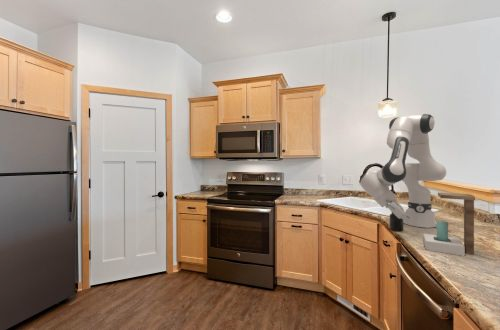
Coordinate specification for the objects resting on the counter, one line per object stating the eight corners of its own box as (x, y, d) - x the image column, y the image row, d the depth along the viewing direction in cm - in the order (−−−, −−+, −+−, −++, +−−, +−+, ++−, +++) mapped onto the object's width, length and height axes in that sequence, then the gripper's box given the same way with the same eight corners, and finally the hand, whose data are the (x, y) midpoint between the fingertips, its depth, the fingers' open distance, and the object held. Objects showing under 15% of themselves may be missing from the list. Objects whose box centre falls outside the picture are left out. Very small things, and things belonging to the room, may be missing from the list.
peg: (436, 246, 108) (436, 220, 108) (447, 247, 106) (447, 221, 106) (437, 248, 105) (437, 222, 105) (448, 250, 103) (448, 223, 103)
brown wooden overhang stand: (437, 244, 110) (437, 192, 110) (469, 249, 104) (469, 194, 104) (441, 251, 102) (440, 194, 102) (475, 256, 96) (475, 196, 96)
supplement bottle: (398, 228, 138) (398, 208, 138) (406, 231, 131) (406, 210, 131) (387, 228, 138) (387, 208, 138) (394, 231, 131) (394, 210, 131)
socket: (423, 241, 115) (423, 233, 115) (458, 246, 108) (458, 238, 108) (425, 249, 104) (425, 240, 104) (464, 256, 97) (464, 246, 97)
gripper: (392, 197, 107) (417, 221, 102) (391, 193, 125) (413, 213, 120) (381, 206, 110) (405, 229, 105) (381, 200, 127) (402, 221, 122)
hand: (409, 221), depth 113 cm, fingers open, 8 cm apart
